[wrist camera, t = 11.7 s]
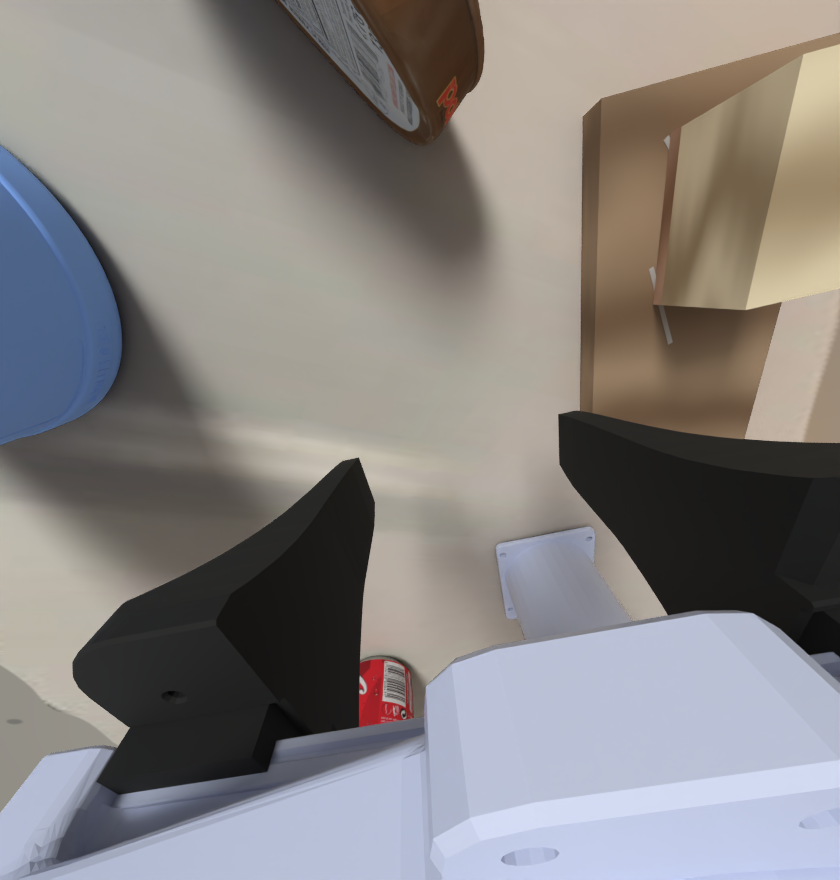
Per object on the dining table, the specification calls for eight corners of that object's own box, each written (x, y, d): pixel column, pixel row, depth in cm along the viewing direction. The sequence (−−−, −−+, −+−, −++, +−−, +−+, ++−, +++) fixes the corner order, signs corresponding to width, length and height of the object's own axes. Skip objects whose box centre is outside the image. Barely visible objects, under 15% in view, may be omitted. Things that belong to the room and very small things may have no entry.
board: (719, 446, 22) (739, 456, 21) (579, 475, 23) (590, 486, 22) (812, 53, 14) (857, 27, 12) (583, 116, 14) (601, 98, 13)
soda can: (344, 686, 34) (315, 870, 23) (347, 648, 31) (316, 838, 20) (408, 689, 35) (408, 868, 24) (417, 651, 32) (422, 837, 21)
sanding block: (730, 286, 16) (854, 284, 12) (652, 304, 16) (745, 310, 12) (766, 107, 13) (953, 12, 9) (670, 133, 13) (802, 54, 9)
